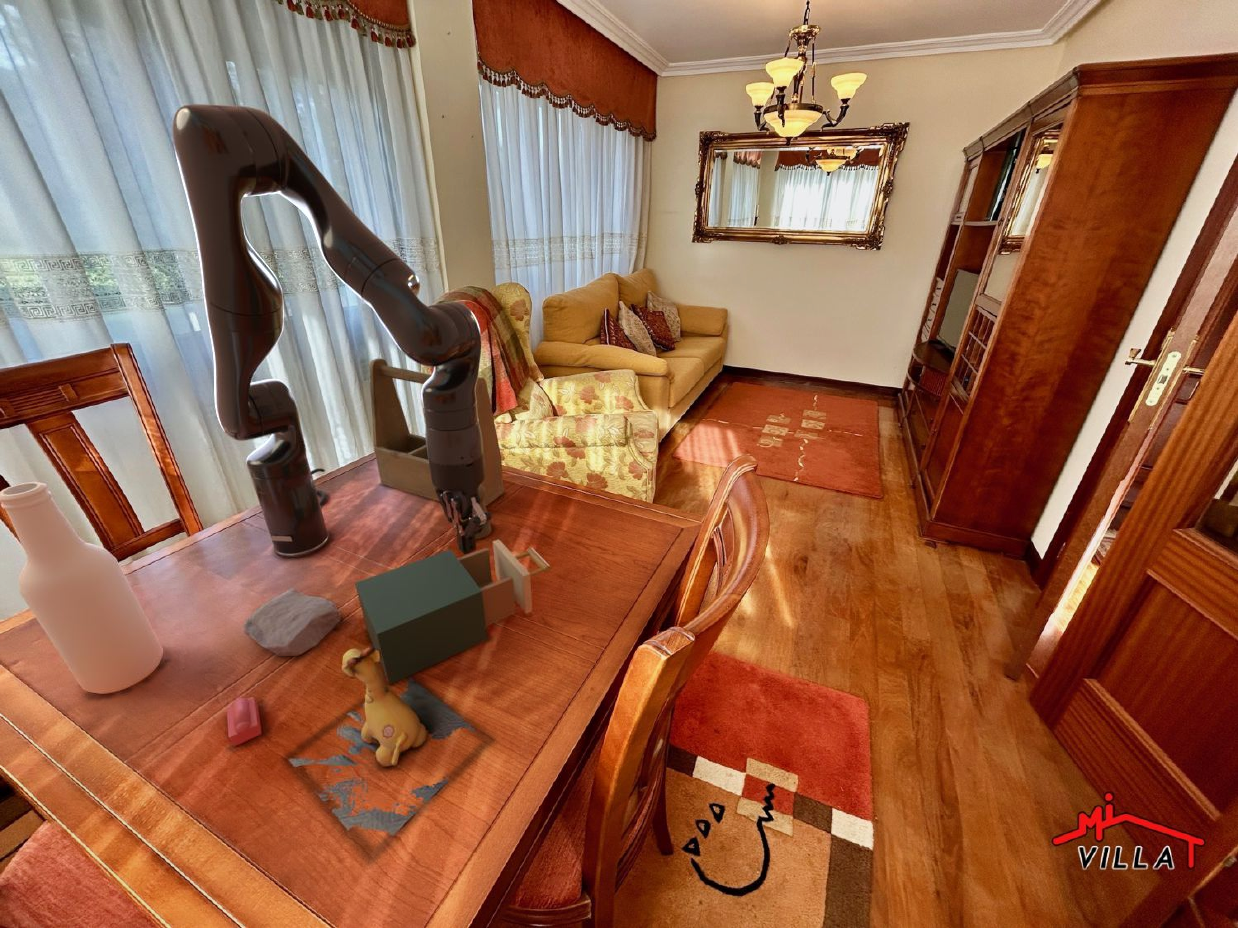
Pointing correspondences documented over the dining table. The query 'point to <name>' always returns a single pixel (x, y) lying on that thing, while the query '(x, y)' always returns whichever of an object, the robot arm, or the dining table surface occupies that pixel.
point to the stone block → (292, 623)
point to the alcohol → (80, 596)
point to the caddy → (406, 452)
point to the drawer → (503, 580)
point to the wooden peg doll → (482, 505)
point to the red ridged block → (243, 720)
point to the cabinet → (422, 613)
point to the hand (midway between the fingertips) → (467, 550)
